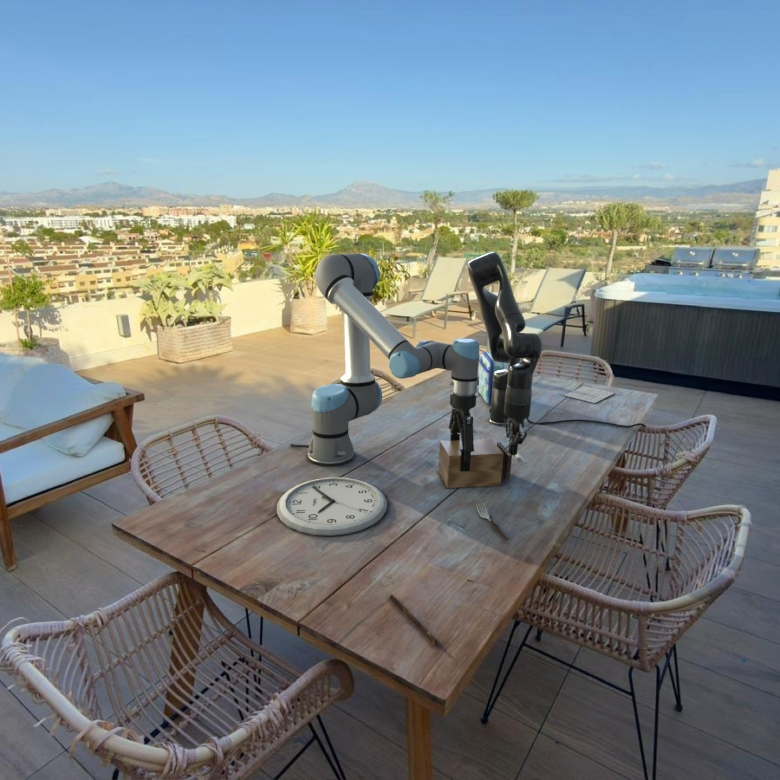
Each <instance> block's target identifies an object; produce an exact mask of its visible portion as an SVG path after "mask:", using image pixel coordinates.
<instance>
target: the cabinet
mask: <svg viewBox="0 0 780 780" xmlns="http://www.w3.org/2000/svg"><path fill="white" fill-rule="evenodd" d="M461 449H462V440H461V439H460V440H451V441H450V440H439V451H438V452H439V454H438V455H439V456H438V473H439V475H440V477H441V479H442V482H443V483H444V485H445V487H446V488H447V489H459V488H461V489H462V488H477V487H478V488H479V487H496V486H501V485H502V465H503V452H502V451H501V450H500V449H499V448H498V446H497V443H495V442H494V441H493V439H492V438H478V439H474V452H471V459H470V471H460V462H461V452H460V450H461Z"/></svg>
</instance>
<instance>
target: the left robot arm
mask: <svg viewBox="0 0 780 780" xmlns="http://www.w3.org/2000/svg"><path fill="white" fill-rule="evenodd" d="M314 274H315V275H314V277H315V279H314V280H315V283H316V286H317V289H318V290H319V292H320V294H321V295H322V296H323V297H324V298H325V300H327V301H328V303H330V304H332V305H336V306H337V307H338V308H339V309H340V310H341V311H342V331H343V333H342V335H343V355H344V356H343V357H344V374H343V375H342V376H341V377H340V383H330V384H324V385H322V386H319V387H318V388H317V387H316V389H315V390H314V391H313V392H312V395H311V402H310V403H311V404H310V406H311V422H312V437H311V439H310V443H309V444H294V443H290V447H293V448H306V449H307V459H308V460H309V461H310V462H311V463H313V464H315V465H320V466H324V467H325V466H326V467H327V466H329V467H331V466H333V467H334V466H341V465H345V464H346V463H349V462H351V461H352V460H353V459H354V458H355V450H354V449H355V448H354V446H353V442H352V440H351V437H350V433H349V422H351V421H354V420H356V419H359V418H362V417H365V416H368V415H371V414H372V413H373V412H376V410H377V409H379V408H380V406H381V404H382V402H383V391H382V387H381V386H380V384H379V382H378V381H376V377H375V375H374V374H373V373H372V372H371V345H370V344H371V343H373V344H374V345H375V347H377V349H378V350H379V351H380V352H381V353H382V354H383V355H384V356H385V357H386V358H387V359H388V368H389V369H390V373H391V374H392V376H393V377H395V378H397V379H400V380H403V379H404V380H405V379H409V378H413V377H416V376H417V375H420V374H423V373H426V372H429V371H432V370H435V369H440V370H445V371H450V372H451V373H450V374H451V376H450V378H451V379H450V381H449V386H450V394H449V395H450V396H449V406H451V413H450V419H449V426H448V430H449V433H450V439H449V441H451V440H462V449H461V450H460V452H461V462H460V471H470V459H471V452H474V440H475V438H474V417H473V416H471V415H472V414H471V412H470V410H471V409H474V408H475V407H476V405H477V392H478V385H477V384H478V377H479V360H480V359H481V354H480V343H479V342H478V341H477V340H475V339H472V338H456V339H454V340H453V342H452V344H451V343H445V342H439V341H435V340H426V339H424V340H420V341H418V344H416V345H415V346H414V345H413V344H412V343H411V342H410V341H409V340H408V339H407V338H406V337H405V336H404V335H403V334H402V333H401V332H400V331H399V330H398V329H397V328H396V327H395V326H394V325H393V324H392V323H391V322H390V321H389V320H388V318H386V317H385V316H384V315H383V314H382V313H381V312H380V310H379V309H377V308H376V307H375V306H374V305H373V304H372V302H371V301H370V300H371V299H372V298H373V297H374V289H375V288H376V287H377V285H378V284H379V282H380V278H381V272H380V268H379V265H378V262H377V261H376V260H374V258H373V257H372V256H370V255H369V254H366V253H359V252H353V253H339V254H338V253H332V254H328V255H327V256H325V257H323V258H322V259H321V260H320V261H319V262H318V264H317V266H316V268H315V272H314ZM370 341H371V342H370Z"/></svg>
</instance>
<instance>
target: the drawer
mask: <svg viewBox="0 0 780 780" xmlns="http://www.w3.org/2000/svg"><path fill="white" fill-rule="evenodd" d="M496 445H497V446H498V448H499V449H500V450H501V451H502V452H503V465H502V476H501V478H502V479H504V480H505V482H510V481H511V471H512V466H522V467H527V466H528V461H527V460H526V459H525V458H524V457H523V456H522V455H521V453H520V452H519V451H517V455H511V454H510V453H509V449H507V447H505V445H503V443H502V441H501V442H500V441H497V442H496ZM513 457H514V459H516V460H517V462H512V461H513V460H512V459H513Z"/></svg>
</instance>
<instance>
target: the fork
mask: <svg viewBox="0 0 780 780" xmlns="http://www.w3.org/2000/svg"><path fill="white" fill-rule="evenodd" d="M475 505H476V509H477V510H478V514H479V516H480V517H481V518H483V519H486V520H488V521H489V522H490V524H491V526H492V528H493V529H494V530H495V531H496V532H497V533H498V534H499V535H500V536H501V537H502V538H503V539H504V540H505V541H508V538H507V537H506V535H505V534H504V533H503V530H502V529H501V528H500V526H499V525H497V524H496V523H495V522H494V521H493V520H491V518H490V517H491V515H490V513H489V510H488V509H487V506H486V505H485V503H484V502H483V503H482V502H480V504H478V503H475Z"/></svg>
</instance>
